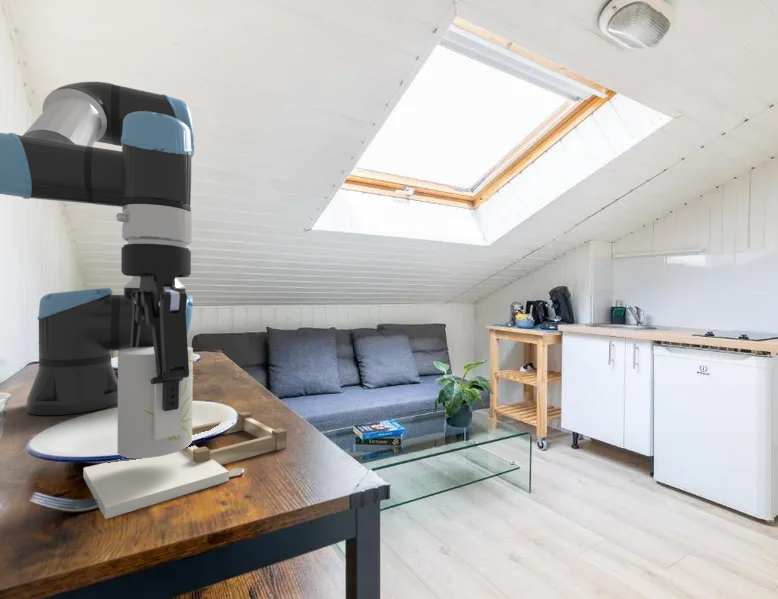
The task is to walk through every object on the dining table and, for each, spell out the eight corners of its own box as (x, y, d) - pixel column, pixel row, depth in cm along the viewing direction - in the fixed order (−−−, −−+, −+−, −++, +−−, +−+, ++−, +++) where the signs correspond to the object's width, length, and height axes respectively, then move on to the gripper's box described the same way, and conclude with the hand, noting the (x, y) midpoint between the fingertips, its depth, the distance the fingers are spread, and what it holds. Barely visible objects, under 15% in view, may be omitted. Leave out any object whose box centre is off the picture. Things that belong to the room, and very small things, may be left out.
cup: (160, 461, 47) (161, 356, 47) (100, 454, 49) (100, 352, 49) (205, 437, 55) (206, 346, 55) (152, 432, 57) (153, 344, 57)
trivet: (83, 477, 53) (83, 467, 53) (191, 450, 62) (191, 442, 62) (105, 519, 43) (105, 507, 43) (228, 480, 52) (228, 471, 52)
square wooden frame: (165, 444, 64) (165, 427, 64) (247, 426, 73) (247, 411, 73) (197, 472, 54) (197, 453, 54) (286, 447, 64) (286, 430, 64)
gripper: (103, 247, 57) (103, 414, 57) (147, 234, 42) (146, 460, 42) (164, 252, 62) (163, 404, 62) (222, 241, 47) (220, 442, 47)
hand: (156, 427), depth 52 cm, fingers closed on cup, 8 cm apart
